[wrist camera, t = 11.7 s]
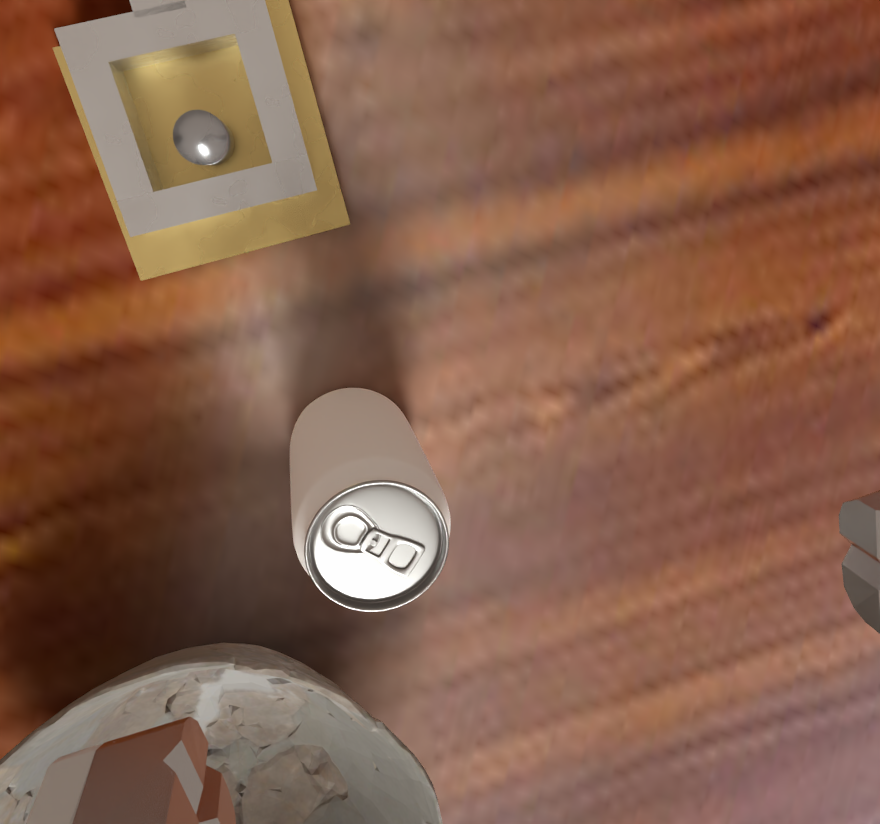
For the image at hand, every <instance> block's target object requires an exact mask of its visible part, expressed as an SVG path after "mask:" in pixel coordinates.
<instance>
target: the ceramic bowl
mask: <svg viewBox="0 0 880 824" xmlns="http://www.w3.org/2000/svg"><path fill="white" fill-rule="evenodd" d="M186 717H192V718H193V719H195V720H197V721H198V723H199V725H200V727H201V729H202V731H203V733H204V735H205V737H206V739H207V741H208V752H207V760H206V765H207V766H209V767H211V768H213V769H215V770H217V771H218V772H220V773H222V775H223V777H224V780H225V782H226V785H227V787H228V789H229V792H230V796H231V800H232V803H233V807H234V810H235V819H236V824H442V819H441V814H440V809H439V805H438V800H437V796H436V793H435V790H434V787H433V784H432V782H431V780H430V778H429V776H428V775H427V773H426V771H425V769H424V768H423V766H422V765H421V763H420V762H419V761H418V759H417V758H416V757H415V755H414V754H413V753H412V752H411V751H410V750H409V749H408V748H407V747H406V746H405V745H404V744H403V743H402V742H401V741H400V740H399V739H398V738H397V737H396V736H395V735H394V734H393V733H392V732H391V731H390V730H389V729H388V728H387V727H386V726H385V725H384V724H383V723H382V722H381V721H380V720H378V719H375V718H373V717H372V716H371V715H370V714H369V713H368V712H366V711H365V710H364V709H363V708H362V707H361V706H360V705H359V704H358V703H357V702H355V701H353V700H352V699H351V698H350V697H349V696H348V695H347V694H346V693H345V692H343V691H342V690H341V689H340V688H339V687H338V686H337V685H336V684H335V683H334V682H332V681H331V680H329V679H328V678H326V677H324V676H322V675H321V674H319V673H318V672H316V671H314V670H313V669H311V668H310V667H308V666H307V665H305V664H303V663H302V662H300V661H298V660H295V659H293V658H291V657H289V656H287V655H285V654H282V653H280V652H277V651H274V650H271V649H268V648H265V647H262V646H259V645H252V644H244V643H223V642H222V643H217V644H210V645H203V646H196V647H190V648H185V649H182V650H179V651H175V652H172V653H168V654H165V655H162V656H158V657H155V658H153V659H151V660H149V661H147V662H145V663H143V664H141V665H139V666H136V667H134V668H132V669H130V670H128V671H126V672H124V673H122V674H120V675H118V676H117V677H115V678H113V679H111V680H109V681H107V682H105V683H103V684H101V685H100V686H98V687H96V688H94V689H92V690H91V691H89V692H87V693H86V694H84V695H83V696H81V697H80V698H78V699H77V700H75V701H73V702H72V703H70V704H69V705H68V706H66V707H65V708H63V709H62V710H61V711H59V712H58V713H57V714H56V715H54V716H53V717H52V718H50V719H49V720H48V721H46V722H45V723H44V724H42V725H41V726H40V727H38V728H37V729H36V730H34V731H33V732H32V733H31V734H29V735H28V736H27V737H26V738H24V739H23V740H22V741H21V742H20V743H19V744H18V745H16V746H15V747H14V748H13V749H12V750H11V751H10V752H9V753H7V754H6V755H5V756H4V757H3V758H2V759H1V760H0V824H26V823H27V820H28V818H29V815H30V812H31V810H32V807H33V805H34V802H35V800H36V797H37V795H38V792H39V790H40V787H41V785H42V782H43V780H44V777H45V775H46V772H47V770H48V768H49V766H50V764H52V763H53V762H54V761H55V760H57V759H58V758H59V757H62V756H65V755H68V754H71V753H74V752H77V751H80V750H83V749H86V748H89V747H92V746H95V745H102V744H103V743H105V742H108V741H111V740H114V739H118V738H121V737H124V736H127V735H131V734H134V733H137V732H141V731H144V730H147V729H150V728H154V727H157V726H160V725H163V724H167V723H170V722H173V721H177V720H180V719H183V718H186Z"/></svg>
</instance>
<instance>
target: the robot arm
mask: <svg viewBox="0 0 880 824" xmlns="http://www.w3.org/2000/svg"><path fill="white" fill-rule="evenodd" d="M839 528H840V534H841V535H842V536H843V537H844V538H845V539H847V540H848V541H849V542H850V543H851V544H852V545H851V547H850V549H849V551H848V553H847V555H846V556H845V558H844V560H843V562H842V571H843V580H844V587H845V590H846V592H847V594H848V596H849V598H850V600H851V603H852V605H853V607H854V608H855V610H856V611H857V612H858V613H859V615H860V616H861V617H862V618H863V620H864V621H865V622H866V623H867V624H869V625H870V626H871V627H872V628H873V629H875V630H876V631H877V632H878V633H880V490H879V491H876V492H873V493H870V494H867V495H865V496H862V497H859V498H856V499H853V500H850V501H847V502H844V503H843V505H842V508H841V511H840V514H839ZM207 752H208V741H207V739H206V737H205V735H204V733H203V731H202V729H201V727H200V725H199V723H198V721H197V720H195V719H193V718H192V717H186V718H183V719H180V720H177V721H173V722H170V723H167V724H163V725H160V726H157V727H154V728H150V729H147V730H144V731H141V732H137V733H134V734H131V735H127V736H124V737H121V738H118V739H114V740H111V741H108V742H105V743H103V744H102V745H95V746H92V747H89V748H86V749H83V750H80V751H77V752H74V753H71V754H68V755H65V756H62V757H59V758H58V759H57V760H55V761H54V762H53V763H52V764H50V766H49V768H48V770H47V772H46V775H45V777H44V780H43V782H42V785H41V787H40V790H39V792H38V795H37V797H36V800H35V802H34V805H33V807H32V810H31V812H30V815H29V818H28V820H27V823H26V824H236V819H235V810H234V807H233V803H232V800H231V796H230V792H229V789H228V787H227V785H226V782H225V780H224V777H223V775H222V773H220V772H218V771H217V770H215V769H213V768H211V767H209V766H207V765H206V760H207Z"/></svg>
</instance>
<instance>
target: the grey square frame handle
mask: <svg viewBox="0 0 880 824" xmlns="http://www.w3.org/2000/svg"><path fill="white" fill-rule="evenodd" d="M129 1H130V4H131V7H132V10H133V12H129V13H124V14H119V15H115V16H110V17H106V18H101V19H96V20H92V21H87V22H83V23H78V24H73V25H69V26H64V27H60V28H55V29H54V30H55V33H56V35H57V38H58V41H59V44H60V46H61V49H62V52H63V55H64V57H65V60H66V63H67V66H68V68H69V71H70V74H71V76H72V79H73V82H74V85H75V87H76V90H77V93H78V96H79V98H80V101H81V104H82V107H83V109H84V112H85V115H86V118H87V120H88V123H89V126H90V129H91V131H92V134H93V137H94V140H95V142H96V145H97V148H98V150H99V153H100V156H101V159H102V161H103V164H104V167H105V170H106V172H107V175H108V178H109V181H110V183H111V186H112V189H113V192H114V194H115V197H116V200H117V203H118V205H119V208H120V211H121V213H122V216H123V219H124V222H125V224H126V227H127V230H128V233H129V235H130V237H133V236H137V235H141V234H145V233H149V232H153V231H157V230H161V229H165V228H169V227H173V226H177V225H181V224H185V223H189V222H193V221H197V220H201V219H205V218H209V217H213V216H217V215H221V214H225V213H229V212H233V211H237V210H241V209H245V208H249V207H253V206H257V205H261V204H265V203H269V202H273V201H277V200H281V199H285V198H289V197H293V196H297V195H301V194H305V193H309V192H313V191H317V187H316V184H315V180H314V177H313V173H312V169H311V166H310V162H309V158H308V155H307V151H306V148H305V144H304V140H303V137H302V133H301V129H300V126H299V122H298V119H297V115H296V111H295V108H294V104H293V100H292V97H291V93H290V89H289V86H288V82H287V79H286V75H285V71H284V68H283V64H282V60H281V57H280V53H279V50H278V46H277V42H276V39H275V35H274V31H273V28H272V24H271V21H270V17H269V13H268V10H267V6H266V2H265V0H129ZM237 45H238V46H239V50H240V53H241V57H242V60H243V64H244V67H245V70H246V74H247V77H248V81H249V84H250V88H251V91H252V94H253V98H254V101H255V105H256V108H257V112H258V115H259V118H260V122H261V125H262V129H263V132H264V136H265V139H266V142H267V146H268V149H269V153H270V156H271V160H272V163H270V164H265V165H261V166H257V167H253V168H249V169H245V170H241V171H237V172H233V173H229V174H225V175H220V176H216V177H212V178H208V179H204V180H200V181H196V182H192V183H188V184H184V185H180V186H176V187H171V188H167V189H163V186H162V183H161V180H160V177H159V174H158V171H157V169H156V166H155V163H154V160H153V157H152V154H151V151H150V148H149V145H148V142H147V139H146V136H145V134H144V131H143V128H142V125H141V122H140V119H139V116H138V113H137V110H136V107H135V104H134V101H133V99H132V96H131V93H130V90H129V87H128V84H127V81H126V78H125V75H124V72H123V71H126V70H131V69H135V68H140V67H144V66H148V65H153V64H157V63H162V62H166V61H171V60H175V59H179V58H184V57H188V56H193V55H197V54H202V53H206V52H210V51H215V50H219V49H224V48H228V47H233V46H237Z"/></svg>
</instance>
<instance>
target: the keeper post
mask: <svg viewBox="0 0 880 824" xmlns="http://www.w3.org/2000/svg"><path fill="white" fill-rule="evenodd" d="M265 2H266V6H267V10H268V13H269V17H270V21H271V24H272V28H273V31H274V35H275V39H276V42H277V46H278V50H279V53H280V57H281V60H282V64H283V68H284V71H285V75H286V79H287V82H288V86H289V89H290V93H291V97H292V100H293V104H294V108H295V111H296V115H297V119H298V122H299V126H300V129H301V133H302V137H303V140H304V144H305V148H306V151H307V155H308V158H309V162H310V166H311V169H312V173H313V177H314V180H315V184H316V187H317V191H313V192H309V193H305V194H301V195H297V196H293V197H289V198H285V199H281V200H277V201H273V202H269V203H265V204H261V205H257V206H253V207H249V208H245V209H241V210H237V211H233V212H229V213H225V214H221V215H217V216H213V217H209V218H205V219H201V220H197V221H193V222H189V223H185V224H181V225H177V226H173V227H169V228H165V229H161V230H157V231H153V232H149V233H145V234H141V235H137V236H133V237H130V235H129V233H128V230H127V227H126V224H125V222H124V219H123V216H122V213H121V211H120V208H119V205H118V203H117V200H116V197H115V194H114V192H113V189H112V186H111V183H110V181H109V178H108V175H107V172H106V170H105V167H104V164H103V161H102V159H101V156H100V153H99V150H98V148H97V145H96V142H95V140H94V137H93V134H92V131H91V129H90V126H89V123H88V120H87V118H86V115H85V112H84V109H83V107H82V104H81V101H80V98H79V96H78V93H77V90H76V87H75V85H74V82H73V79H72V76H71V74H70V71H69V68H68V66H67V63H66V60H65V57H64V55H63V52H62V49H61V46H58V47H54V48H53V50H54V53H55V56H56V58H57V61H58V64H59V66H60V69H61V72H62V74H63V77H64V79H65V82H66V85H67V87H68V90H69V93H70V95H71V98H72V101H73V103H74V106H75V108H76V111H77V114H78V116H79V119H80V122H81V124H82V127H83V129H84V132H85V135H86V137H87V140H88V143H89V145H90V148H91V151H92V153H93V156H94V158H95V161H96V164H97V166H98V169H99V172H100V174H101V177H102V180H103V182H104V185H105V187H106V190H107V193H108V195H109V198H110V201H111V203H112V206H113V209H114V211H115V214H116V216H117V219H118V222H119V224H120V227H121V230H122V232H123V235H124V238H125V240H126V243H127V245H128V248H129V251H130V253H131V256H132V259H133V261H134V264H135V267H136V269H137V272H138V274H139V277H140V280H141V281H142V280H145V279H149V278H153V277H157V276H160V275H164V274H168V273H172V272H175V271H179V270H183V269H186V268H190V267H194V266H198V265H201V264H205V263H209V262H212V261H216V260H220V259H224V258H227V257H231V256H235V255H238V254H242V253H246V252H250V251H253V250H257V249H261V248H265V247H268V246H272V245H276V244H279V243H283V242H287V241H291V240H294V239H298V238H302V237H305V236H309V235H313V234H317V233H320V232H324V231H328V230H332V229H335V228H339V227H343V226H346V225H350V221H349V217H348V214H347V210H346V207H345V203H344V199H343V196H342V192H341V188H340V185H339V181H338V178H337V174H336V170H335V167H334V163H333V160H332V156H331V152H330V149H329V145H328V141H327V138H326V134H325V131H324V127H323V123H322V120H321V116H320V112H319V109H318V105H317V102H316V98H315V94H314V91H313V87H312V84H311V80H310V76H309V73H308V69H307V65H306V62H305V58H304V55H303V51H302V47H301V44H300V40H299V37H298V33H297V29H296V26H295V22H294V18H293V15H292V11H291V8H290V4H289V0H265ZM123 72H124V75H125V78H126V81H127V84H128V87H129V90H130V93H131V96H132V99H133V101H134V104H135V107H136V110H137V113H138V116H139V119H140V122H141V125H142V128H143V131H144V134H145V136H146V139H147V142H148V145H149V148H150V151H151V154H152V157H153V160H154V163H155V166H156V169H157V171H158V174H159V177H160V180H161V183H162V186H163V189H167V188H171V187H176V186H180V185H184V184H188V183H192V182H196V181H200V180H204V179H208V178H212V177H216V176H220V175H225V174H229V173H233V172H237V171H241V170H245V169H249V168H253V167H257V166H261V165H265V164H270V163H272V160H271V156H270V153H269V149H268V146H267V142H266V139H265V136H264V132H263V129H262V125H261V122H260V118H259V115H258V112H257V108H256V105H255V101H254V98H253V94H252V91H251V88H250V84H249V81H248V77H247V74H246V70H245V67H244V64H243V60H242V57H241V53H240V50H239V46H238V45H237V46H233V47H228V48H224V49H219V50H215V51H210V52H206V53H202V54H197V55H193V56H188V57H184V58H179V59H175V60H171V61H166V62H162V63H157V64H153V65H148V66H144V67H140V68H135V69H131V70H126V71H123Z"/></svg>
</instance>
